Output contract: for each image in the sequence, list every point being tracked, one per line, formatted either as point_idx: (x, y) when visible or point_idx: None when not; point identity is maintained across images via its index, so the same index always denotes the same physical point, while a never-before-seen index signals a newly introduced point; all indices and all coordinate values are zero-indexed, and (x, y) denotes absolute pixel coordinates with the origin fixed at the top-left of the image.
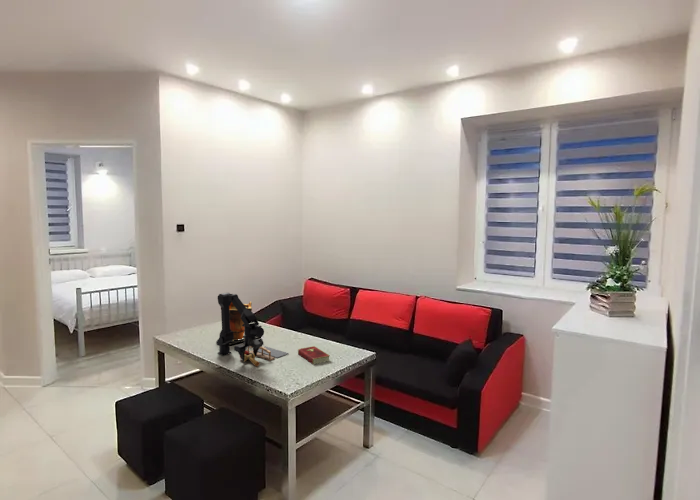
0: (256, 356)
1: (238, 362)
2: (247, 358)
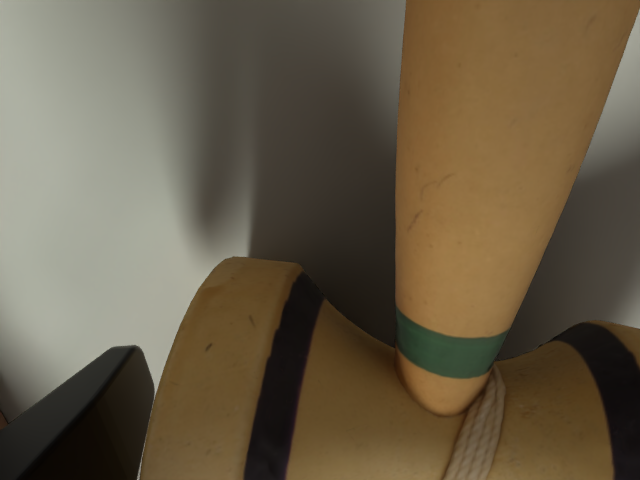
0: None
1: None
2: (541, 374)
